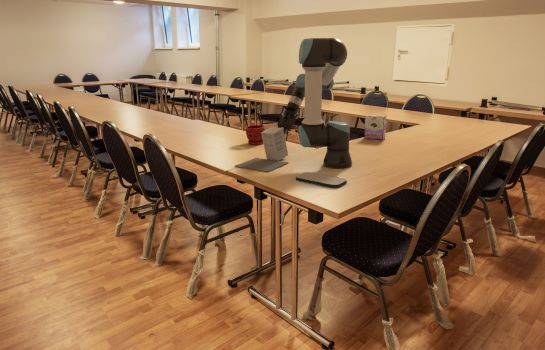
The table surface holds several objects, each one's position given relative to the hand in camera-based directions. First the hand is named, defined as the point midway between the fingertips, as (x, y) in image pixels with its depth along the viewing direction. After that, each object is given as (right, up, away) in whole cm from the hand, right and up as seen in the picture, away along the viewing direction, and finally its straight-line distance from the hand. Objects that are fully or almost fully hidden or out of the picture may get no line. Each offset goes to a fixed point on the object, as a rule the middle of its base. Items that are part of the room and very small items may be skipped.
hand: (279, 137), depth 222 cm
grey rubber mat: (-10, -16, -12) cm, 23 cm away
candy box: (+68, +4, +48) cm, 83 cm away
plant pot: (-15, 0, +42) cm, 45 cm away
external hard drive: (+19, -25, -42) cm, 53 cm away
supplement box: (-1, -11, 0) cm, 11 cm away
